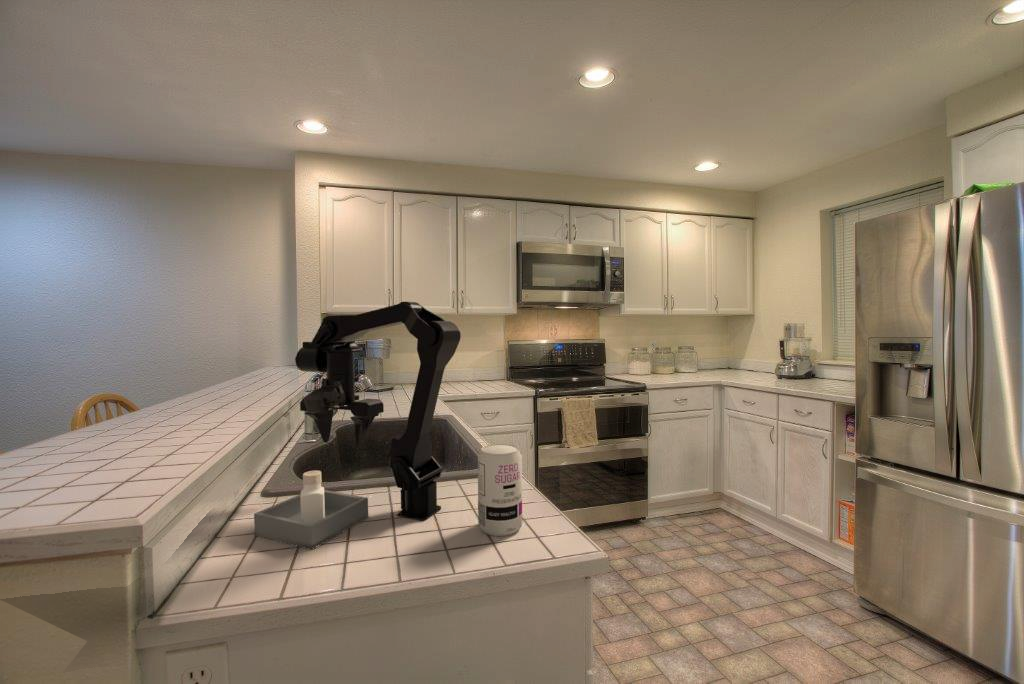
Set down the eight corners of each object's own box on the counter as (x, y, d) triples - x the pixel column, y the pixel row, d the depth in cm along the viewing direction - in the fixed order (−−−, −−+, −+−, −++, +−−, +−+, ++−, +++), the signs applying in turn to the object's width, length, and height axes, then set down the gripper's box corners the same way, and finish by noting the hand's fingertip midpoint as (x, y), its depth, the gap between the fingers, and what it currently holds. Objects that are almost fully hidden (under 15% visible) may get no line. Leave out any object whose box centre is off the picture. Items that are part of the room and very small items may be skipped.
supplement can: (496, 515, 92) (495, 440, 92) (530, 525, 88) (530, 447, 87) (469, 530, 86) (468, 450, 85) (505, 542, 81) (504, 457, 80)
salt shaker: (324, 525, 86) (323, 475, 86) (300, 528, 85) (299, 477, 84) (324, 516, 90) (323, 468, 90) (302, 519, 89) (301, 471, 88)
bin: (368, 517, 91) (367, 497, 91) (312, 549, 79) (311, 526, 78) (315, 507, 97) (314, 488, 97) (254, 535, 84) (254, 513, 84)
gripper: (277, 375, 97) (279, 449, 97) (347, 379, 89) (349, 459, 90) (319, 370, 107) (320, 437, 108) (384, 373, 100) (385, 445, 100)
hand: (342, 444), depth 101 cm, fingers open, 9 cm apart
